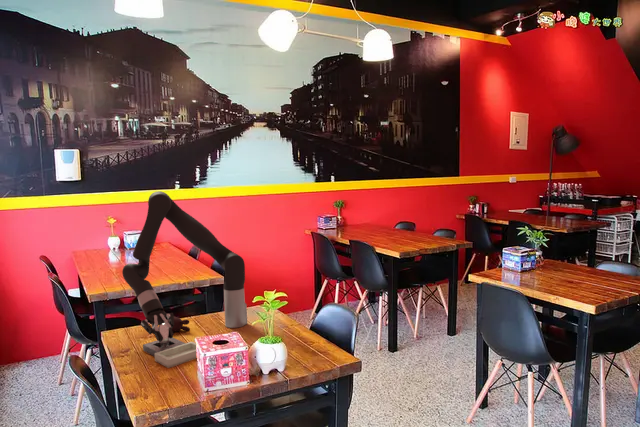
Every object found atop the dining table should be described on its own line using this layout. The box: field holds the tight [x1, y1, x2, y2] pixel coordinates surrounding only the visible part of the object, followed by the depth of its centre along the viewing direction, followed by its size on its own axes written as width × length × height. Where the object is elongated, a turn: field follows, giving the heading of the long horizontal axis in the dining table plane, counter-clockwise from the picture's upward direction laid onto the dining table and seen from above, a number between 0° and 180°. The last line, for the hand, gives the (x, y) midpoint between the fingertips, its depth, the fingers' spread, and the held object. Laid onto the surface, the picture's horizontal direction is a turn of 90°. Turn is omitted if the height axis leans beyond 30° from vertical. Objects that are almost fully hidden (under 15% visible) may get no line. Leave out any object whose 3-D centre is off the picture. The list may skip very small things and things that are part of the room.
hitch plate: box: [142, 336, 187, 358], centre depth 190 cm, size 12×12×2 cm
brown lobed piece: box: [167, 315, 191, 333], centre depth 212 cm, size 7×7×15 cm
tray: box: [154, 341, 197, 369], centre depth 182 cm, size 16×10×3 cm, turn 136°
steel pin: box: [158, 323, 170, 348], centre depth 190 cm, size 4×4×11 cm
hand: (166, 338), depth 189 cm, fingers closed on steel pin, 4 cm apart
